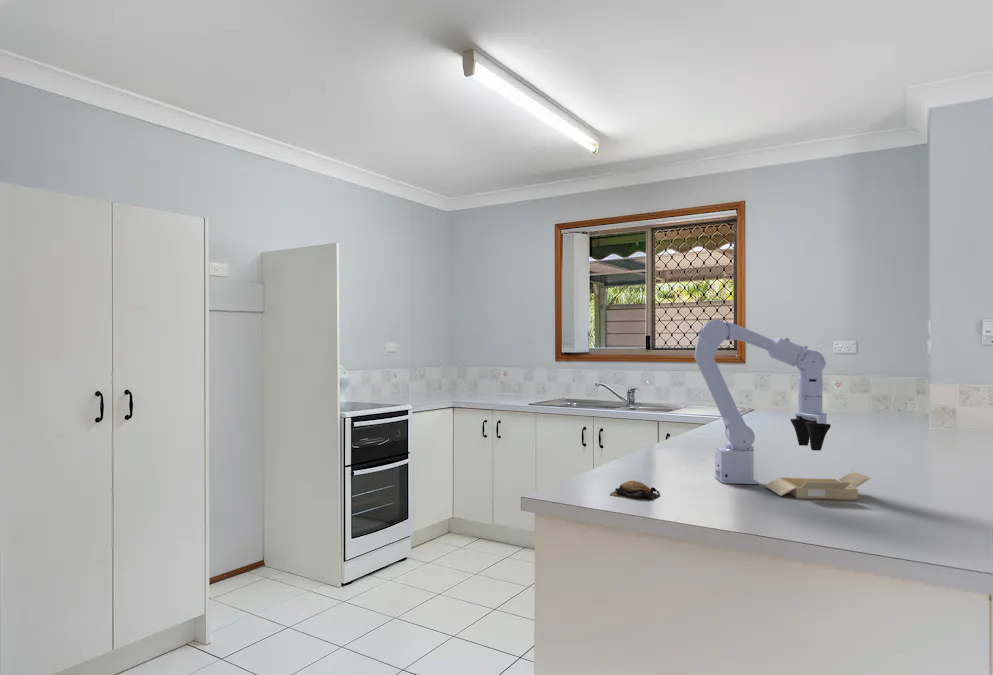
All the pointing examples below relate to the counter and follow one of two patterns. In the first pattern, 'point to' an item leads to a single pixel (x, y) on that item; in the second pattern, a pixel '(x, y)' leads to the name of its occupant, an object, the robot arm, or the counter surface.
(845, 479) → the right flap
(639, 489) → the brown black domed lump
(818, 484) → the front flap
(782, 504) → the counter surface
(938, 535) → the counter surface
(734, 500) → the counter surface
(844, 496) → the carton
